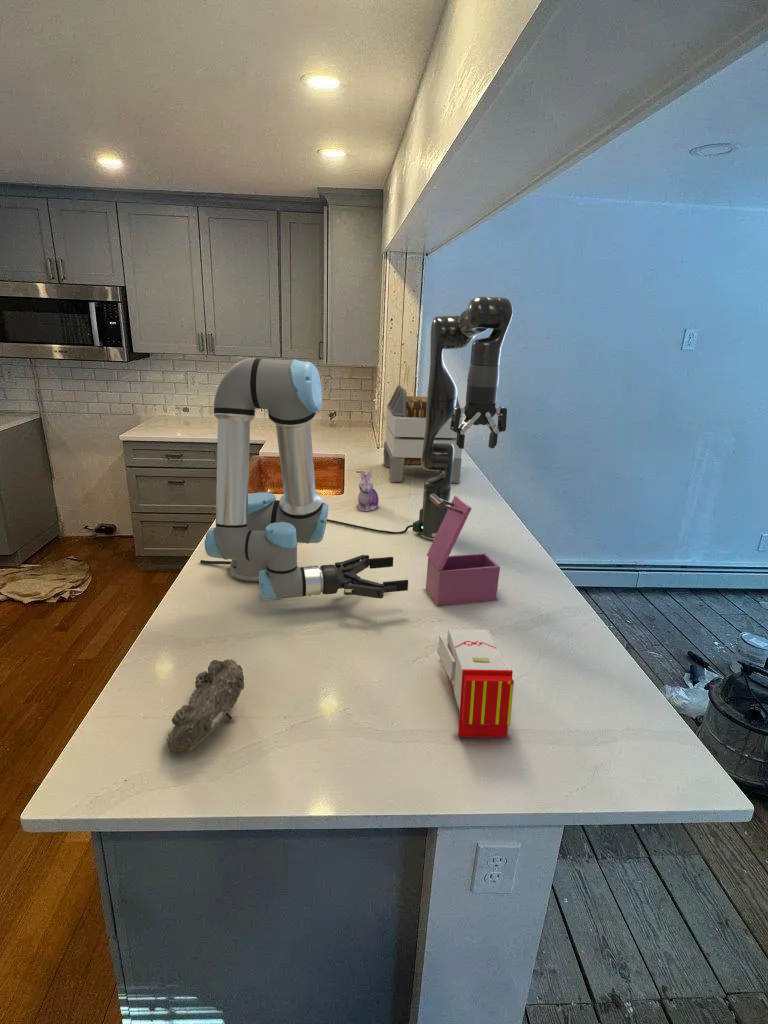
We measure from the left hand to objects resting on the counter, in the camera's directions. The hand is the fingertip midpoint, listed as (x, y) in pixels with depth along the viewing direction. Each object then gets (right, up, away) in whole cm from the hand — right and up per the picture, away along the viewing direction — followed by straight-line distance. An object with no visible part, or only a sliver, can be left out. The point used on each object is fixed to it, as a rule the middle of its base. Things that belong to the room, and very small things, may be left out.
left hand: (400, 572), depth 151 cm
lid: (+13, +11, 0) cm, 17 cm away
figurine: (-11, +18, +73) cm, 76 cm away
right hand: (+19, +33, -6) cm, 38 cm away
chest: (+17, -7, +8) cm, 20 cm away
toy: (+14, -21, -32) cm, 41 cm away
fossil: (-37, -23, -43) cm, 61 cm away
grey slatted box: (+13, +35, +124) cm, 130 cm away
